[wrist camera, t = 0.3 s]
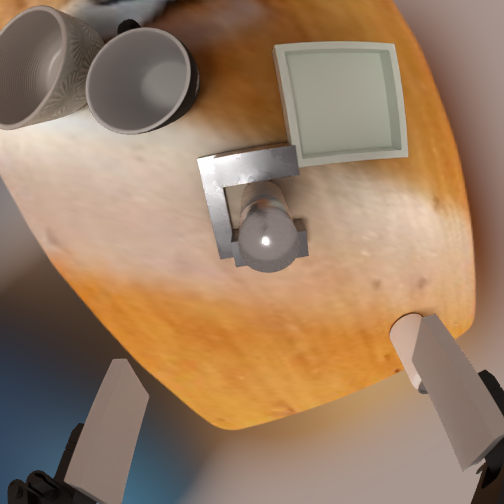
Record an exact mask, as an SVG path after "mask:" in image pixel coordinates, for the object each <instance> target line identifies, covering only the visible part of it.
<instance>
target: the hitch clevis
mask: <svg viewBox="0 0 504 504" xmlns="http://www.w3.org/2000/svg"><path fill="white" fill-rule="evenodd" d="M197 161H198V165H199V170H200V174H201V179H202V183H203V188H204V192H205V197H206V201H207V205H208V209H209V214H210V218H211V222H212V226H213V231H214V235H215V239H216V243H217V247H218V251H219V255H220V259H225V258H232V257H234V259H235V264H236V267H241V266H247V264H246V263H245V262H244V261H243V260H242V258H241V256H240V254H239V250H238V239H239V229H236V230H232V225H231V221H230V216H229V211H228V206H227V202H226V197H225V192H224V187H227V186H233V185H239V184H244V183H250V182H256V181H262V180H269V179H275V178H282V177H289V176H296V175H300V174H299V167H298V159H297V152H296V145H291V144H290V143H288V142H286V143H279V144H272V145H265V146H259V147H253V148H247V149H241V150H235V151H230V152H225V153H219V154H214V155H209V156H205V157H200V158H198V159H197ZM293 223H294V225H295V228H296V230H297V233H298V236H299V240H300V248H299V252H298V254H297V256H296V258H298V257H305V256H309V255H308V244H307V234H306V229H305V227H304V225H303V223H302V221H301V219H299V220H293Z"/></svg>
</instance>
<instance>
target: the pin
mask: <svg viewBox="0 0 504 504" xmlns="http://www.w3.org/2000/svg"><path fill="white" fill-rule="evenodd" d="M299 248H300V240H299V236H298V233H297V230H296V228H295V225H294V223H293V220H292V217H291V215H290V212H289V210H288V207H287V204H286V202H285V199H284V197H283V194H282V192H281V190H280V188H279V187H278V186H277V185H276V184H275V183H273V182H271V181H268V180H262V181H256V182H252V183H251V184H249V185H248V186H247V187H246V189H245V190H244V192H243V195H242V204H241V215H240V227H239V239H238V250H239V254H240V256H241V258H242V260H243V261H244V262H245V263H246V264H247V265H248V266H249V267H251V268H252V269H254V270H257V271H260V272H266V273H270V272H277V271H280V270H282V269H284V268H286V267H287V266H289V265H290V264H291V263H292V262H293V261H294V260H295V258H296V256H297V254H298V252H299Z"/></svg>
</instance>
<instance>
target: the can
mask: <svg viewBox="0 0 504 504" xmlns="http://www.w3.org/2000/svg"><path fill="white" fill-rule="evenodd" d="M421 318H422V316H421V315H419V314H407V315H405V316H403V317H401V318H400V319H398V320H397V321H396V322H395V324H394V325H393V326H392V328H391V331H390V340H391V342H392V344H393V346H394V348H395V350H396V352H397V354H398V356H399V358H400V360H401V362H402V364H403V366H404V368H405V370H406V372H407V374H408V376H409V378H410V381H411V383H412V384H413V386H414V387H415V388H417V389H418V391H419V392H420V393H421V394H428V392H427V390H426V388H425V386H424V384H423V382H422V380H421V378H420V376H419V374H418V372H417V371H416V369H415V367H414V365H413V363H412V361H411V360H412V356H413V352H414V348H415V344H416V340H417V336H418V331H419V327H420V322H421Z"/></svg>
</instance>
